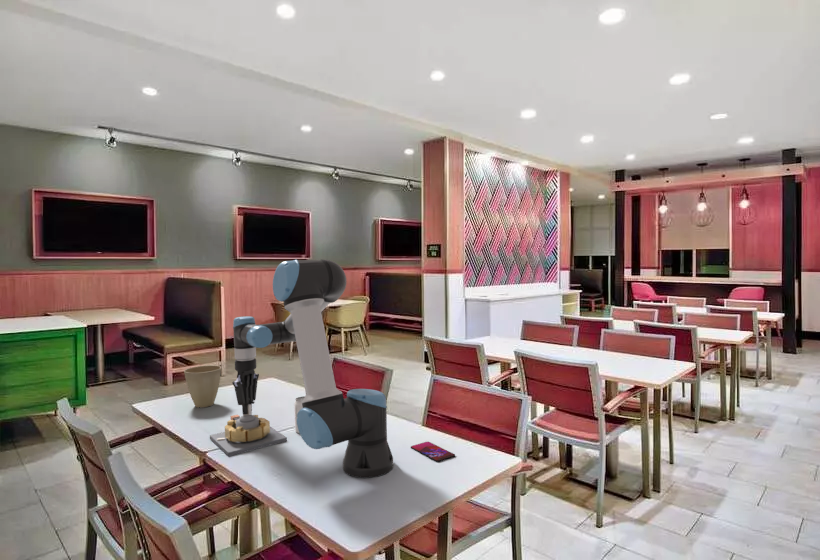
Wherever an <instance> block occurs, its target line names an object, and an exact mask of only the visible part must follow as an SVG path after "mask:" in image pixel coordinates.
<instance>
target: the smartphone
mask: <svg viewBox="0 0 820 560" xmlns="http://www.w3.org/2000/svg"><path fill="white" fill-rule="evenodd" d="M410 449H412V450H413V451H416V452H417V453H419V454H420V455H422V456H424V457H426V458H427V459H429V460H431V461H433V462H434V463H441V462H444V461H447V460H451V459H453V458H456V454H455V453H453V452H451V451H449V450H446V449H445V448H443V447H441V446H439V445H436V444H435V443H433V442H430V441H425V442H424V441H423V442H421V443H418V444H414V445H411V446H410Z"/></svg>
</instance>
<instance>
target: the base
mask: <svg viewBox="0 0 820 560" xmlns="http://www.w3.org/2000/svg"><path fill="white" fill-rule="evenodd" d="M254 415H255V414H252V415H245V416H243V415H242V416H240V419H237V420H236V428H237V427H238V426H242V427H243V429H246V430H247V429H251V428H255V427H259V418H260V417H259V416H258V417H255V416H254ZM209 439H210V440H211V441H212V442H213V443H214V445H216V446H217V448H219V449H220V450H221V451H222V452H224V454H225V455H226V456H227V457H230V456H235V455H238V454H242V453H246V452H249V451H254V450H257V449H261V448H264V447H269V446H273V445H276V444H281V443H284V442H287V441H288V437H287V436H285V434H284V435H283V434H282V433H281V432H279V431H278V430H276V429H275V428H273V427H272V426H270V432H269V433H268V434H267V435H266V436H265V437H262V438H261V439H257V440H253V441H249V442H248V441H246V442H231V441H229V440H228V439H227V438H226V437H225V431H223V432H218V433H214V434H211V435H209Z"/></svg>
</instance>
